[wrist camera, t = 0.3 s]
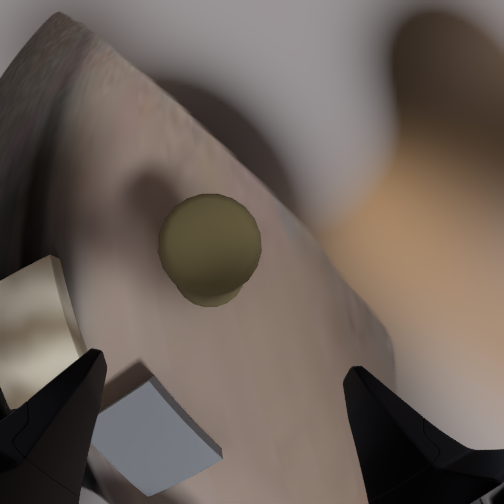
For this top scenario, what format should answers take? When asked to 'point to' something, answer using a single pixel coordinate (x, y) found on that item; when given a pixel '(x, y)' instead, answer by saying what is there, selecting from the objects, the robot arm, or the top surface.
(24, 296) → the maple slab
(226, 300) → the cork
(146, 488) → the blue grey block
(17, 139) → the top surface
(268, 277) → the top surface
